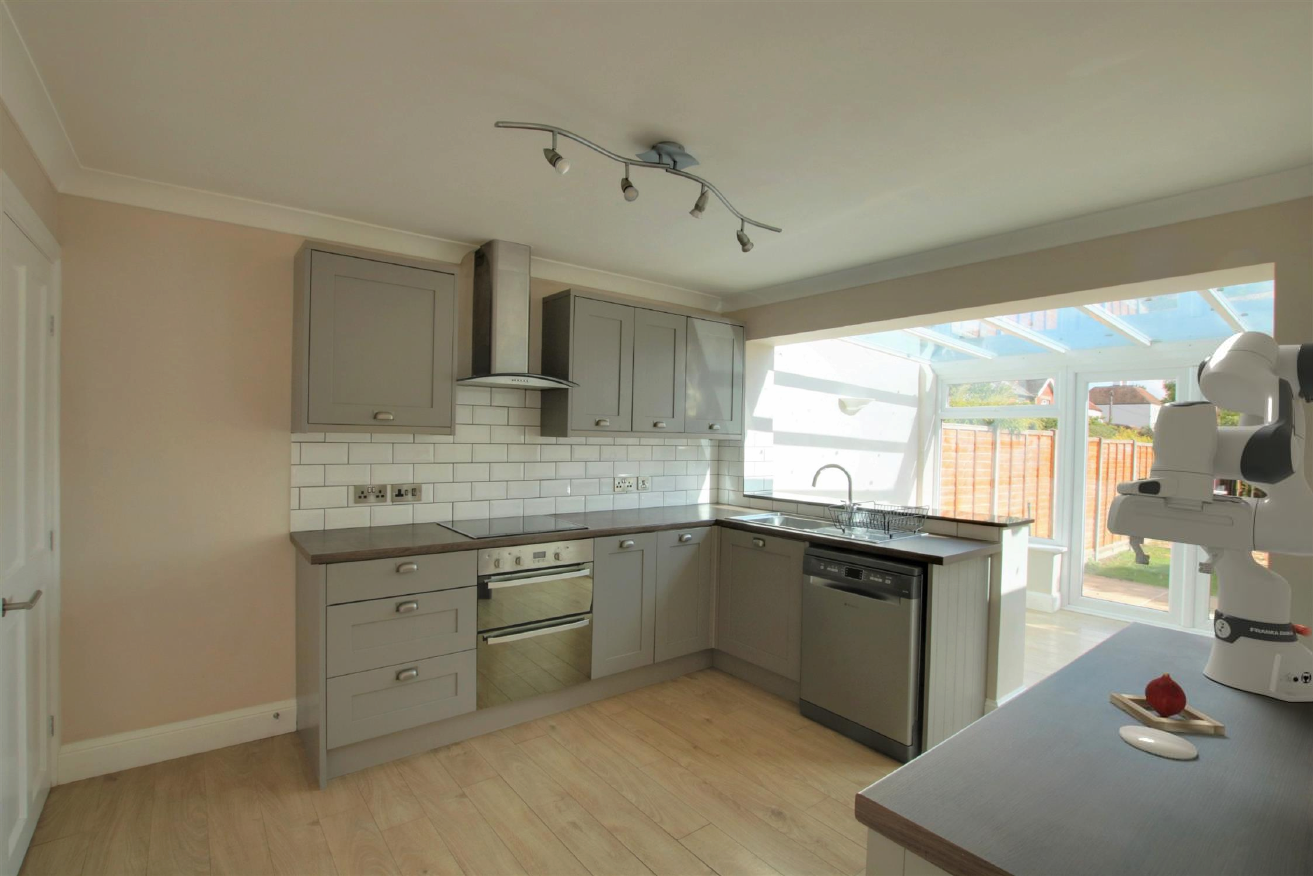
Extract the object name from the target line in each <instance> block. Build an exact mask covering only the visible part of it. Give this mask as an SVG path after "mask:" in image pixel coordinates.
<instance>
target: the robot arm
mask: <svg viewBox="0 0 1313 876" xmlns="http://www.w3.org/2000/svg"><path fill="white" fill-rule="evenodd" d="M1196 378H1197V380H1196V381H1197V383H1198V384H1197V385H1198V386H1199V390H1200V392H1201V394H1202V396H1203V397H1204V398H1205V399H1206V401H1205V400H1192V401H1191V400H1189V401H1186V400H1184V401H1183V400H1179V401H1175V400H1174V401H1168V402H1166V403H1164V404H1162V405H1161V406H1160V408H1159V411H1158V415H1157V418H1156V422H1155V424H1154V425H1155V427H1154V430H1153V437H1152V438H1153V439H1152V451H1153V457H1154V459H1153V462H1152V465H1151V467H1150V470H1149V471H1150V472H1149V477H1148V478H1147V477H1145V478H1137V479H1135V480H1130V481H1129V480H1128V481H1122V482H1119V483H1118V484H1117V485H1116V492H1117V493H1118V494H1119V495H1116V496H1115V497H1114V498H1113V499H1112V501H1111V503H1110V507H1109V511H1108V515H1107V520H1106V521H1107V522H1106V528H1107V530H1108V531H1109V532H1110V534H1113V535H1118V536H1127V537H1129V541H1128V543H1129V545H1130V547H1131V548H1132V550H1133V552H1134V553H1135V560H1134V562H1135V564H1138V565H1146V566H1149V564H1150V561H1149V560H1150V559H1151V558H1150V557H1151V555H1149V554H1145V552H1144V550H1143V548H1142V546H1141V545H1144V543H1145V539H1149V540H1156V541H1164V542H1172V543H1177V544H1178V543H1179V544H1186V545H1193V546H1199V547H1200V548H1201V549H1203V551H1204V552H1205V553H1206V554H1207V556H1208V558H1207V559H1206V560H1205V561H1204V562H1202V561H1199V562H1198V573H1201V574H1208V575H1214V573H1215V572H1216V577H1217V608H1216V609H1215V610H1214V615H1213V629H1214V638H1213V643H1212V646H1211V651H1210V654H1209V658H1208V661H1207V663H1206V666H1205V668H1204V669H1203V674H1204V675H1205V676H1206V677H1208V678H1209V679H1211V680H1213V681H1216V682H1217V683H1220V684H1223V685H1226V686H1229V687H1232V688H1235V689H1238V690H1242V691H1246V692H1250V693H1253V694H1259V695H1263V696H1268V697H1271V698H1274V699H1278V700H1280V701H1281V700H1282V701H1284V702H1285V701H1286V702H1291V703H1292V702H1295V703H1296V702H1298V703H1299V702H1313V651H1311V650H1310V649H1309V648H1307V647H1306V646H1304V644H1302V643H1301V642H1299V638H1298V635H1301V636H1303V637H1306V638H1307V637H1310V636H1311V635H1312V633H1313V631H1312V629H1311V627H1309V626H1305V625H1302V624H1293V623H1292V622H1291V621H1290V618H1291V617H1290V616H1291V603H1292V601H1291V599H1292V587H1291V585H1290V584H1289V582H1288V581H1287V580H1286V579H1285V578H1284V577H1283V576H1282V575H1281V574H1278V573H1277V572H1275V571H1273V570H1271V569H1270V568H1267V566H1263V565H1262V564H1260V563H1259V562H1258V561H1256V560H1255V558H1254V556H1253V551H1256V552H1257V551H1258V552H1259V551H1260V552H1266V553H1267V552H1268V553H1275V554H1282V555H1290V556H1296V557H1313V490H1312V489H1311V488H1310V486H1309V484H1308V482H1307V480H1306V476H1305V468H1304V467H1305V466H1304V462H1305V461H1304V460H1305V459H1304V457H1305V445H1306V433H1307V430H1306V429H1307V428H1306V415H1305V409H1304V406H1303V402H1302V399H1304V401H1305V403H1306V404H1310V403H1313V342H1303V343H1302V344H1279V343H1278V342H1277V340H1276V339H1275V338H1273V337H1272V336H1271V335H1269V334H1267V333H1265V332H1261V331H1255V330H1254V331H1253V330H1252V331H1251V330H1250V331H1249V330H1248V331H1242V332H1239V333H1235V334H1234V335H1231V336H1229V337H1228V338H1227V339H1226V340H1224V341H1223V342H1222V343H1221V344H1220V345H1219V346H1218V347H1217V348H1216V349H1215V350H1214V352H1213V353H1212V354H1211V355H1207V357H1205V358H1204V359H1203V360H1202V361H1201V362H1200V363H1199V365H1198V370H1197V375H1196ZM1217 408H1218V409H1220V410H1223V411H1226V412H1231V413H1239V414H1240V416H1239V419H1238V422H1237V424H1236V425H1235V426H1234V425H1218V413H1217ZM1215 479H1217V480H1231V481H1232V480H1233V481H1242V482H1243V483H1246V484H1247V485H1250V486H1253V487H1254V488H1257V489H1259V490H1261V491H1262V492H1264V493H1265V494H1266V496H1265V497H1250V496H1249V497H1247V496H1238V495H1237V496H1236V495H1227V494H1225V495H1224V494H1216V493H1214V492H1215V491H1214V490H1215Z"/></svg>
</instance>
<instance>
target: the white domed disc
mask: <svg viewBox="0 0 1313 876" xmlns="http://www.w3.org/2000/svg"><path fill="white" fill-rule="evenodd" d="M1118 731H1119V733H1118V735H1119V736H1120V737H1119V738H1121V739H1122V740H1123V741H1124V742H1126V743H1127V744H1129V745H1130V746H1133V747H1134V748H1137V749H1139V750H1142V751H1144V752H1146V751H1148V752H1147V753H1149V752H1151V753H1150V754H1152V755H1155V754H1157V755H1156V756H1159V755H1161V756H1160V757H1164V758H1167V757H1168V759H1173V758H1174V760H1183V761H1185V760H1186V759H1187V760H1194V759H1196V758H1197V756H1198V749H1197V747H1196V746H1195V745H1194V744H1192V743H1191V742H1189V741H1188V740H1186V739H1184V738H1182V737H1180V736H1178V735H1175V734H1173V733H1170V732H1168V731H1163V730H1157V729H1153V728H1151V727H1149V726H1143V725H1141V726H1140V725H1125V726H1121V727H1120V728H1119V730H1118ZM1193 758H1194V759H1193Z"/></svg>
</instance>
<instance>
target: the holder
mask: <svg viewBox="0 0 1313 876" xmlns="http://www.w3.org/2000/svg"><path fill="white" fill-rule="evenodd" d="M1109 696H1110V699H1109V702H1110V701H1111V703H1112V704H1113V703H1114V704H1113V705H1114V706H1117V707H1118V708H1119V709H1121V710H1123V711H1124V710H1125V711H1124V712H1126V713H1127V714H1128V715H1131V717H1133V718H1135V719H1137V720H1138V721H1140V722H1141V723H1143V724H1145V725H1146V727H1149V728H1153V729H1157V730H1161V731H1164V732H1178V733H1179V732H1180V733H1192V734H1193V733H1194V734H1205V735H1206V734H1209V735H1220V736H1224V735H1225V733H1226V731H1225V730H1226V726H1225V725H1224V724H1222V723H1220V722H1218V721H1216V720H1215V719H1213V718H1211V717H1210V716H1207V714H1204V713H1202V712H1200V711H1198V710H1197V709H1195V708H1192V707H1191V706H1189V705H1188V704H1186V706H1185V708H1184V709H1183V710H1182V711H1181V712H1180V713H1178V714H1177V715H1180V716H1182V717H1183V718H1171V717H1166V718H1165V717H1158V716H1156V715H1155V714H1154V713H1152V712H1151V711H1149V710H1146V709H1145V708H1148V707H1151V706H1150V705H1149V704H1148V702H1147V700H1146V696H1145V695H1139V694H1138V695H1137V694H1125V693H1124V694H1122V693H1110V695H1109ZM1140 706H1141V707H1140Z"/></svg>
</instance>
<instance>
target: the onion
mask: <svg viewBox="0 0 1313 876" xmlns="http://www.w3.org/2000/svg"><path fill="white" fill-rule="evenodd" d="M1144 688H1145V689H1144V694H1145V695H1144V696H1146V700H1147V702H1148V704H1149V705H1150V706H1151V707H1152V708H1151V709H1153V710H1154V711H1155V713H1157V714H1158V715H1159V716H1161V718H1171V717H1172V716H1176V715H1179V714H1178V713H1180V712H1181V711H1182V710H1183V709H1184V708H1185V706H1186V705H1187V697H1186V694H1185V691H1184V690H1183V688H1182V687H1181V685H1179V683H1178V682H1176V681H1175V680H1174V679H1172V677H1171V676H1170V673H1168V672H1166V671H1165V672H1163V673H1162V675H1161V677H1157V678H1155V679H1152V680H1151V681H1150V682H1148V684H1146V686H1145V687H1144Z"/></svg>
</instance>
